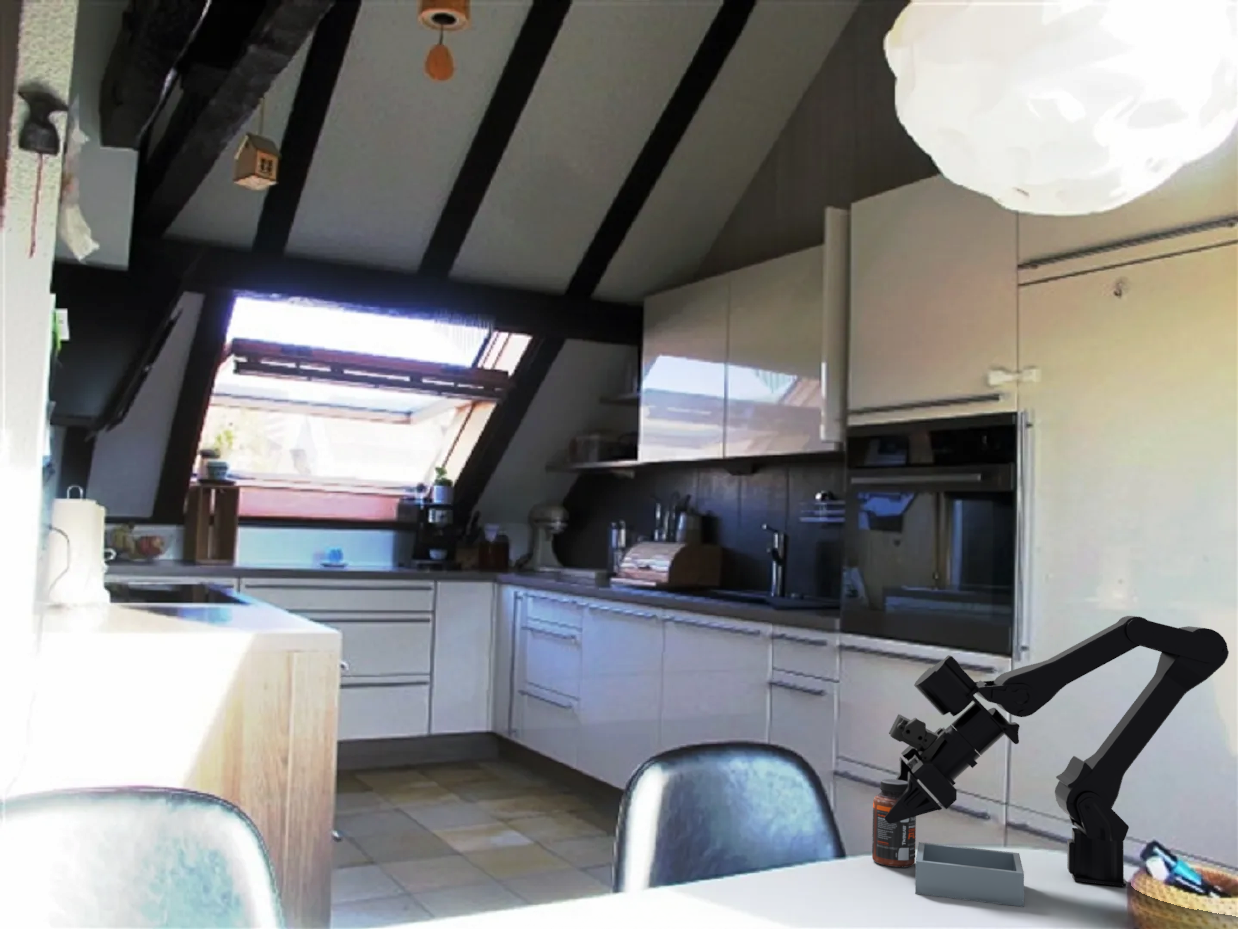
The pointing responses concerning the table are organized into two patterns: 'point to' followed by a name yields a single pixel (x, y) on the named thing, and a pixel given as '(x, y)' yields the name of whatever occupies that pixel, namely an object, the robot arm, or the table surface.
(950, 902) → the table surface
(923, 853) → the tote
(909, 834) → the supplement bottle
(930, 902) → the table surface
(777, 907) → the table surface
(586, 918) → the table surface
